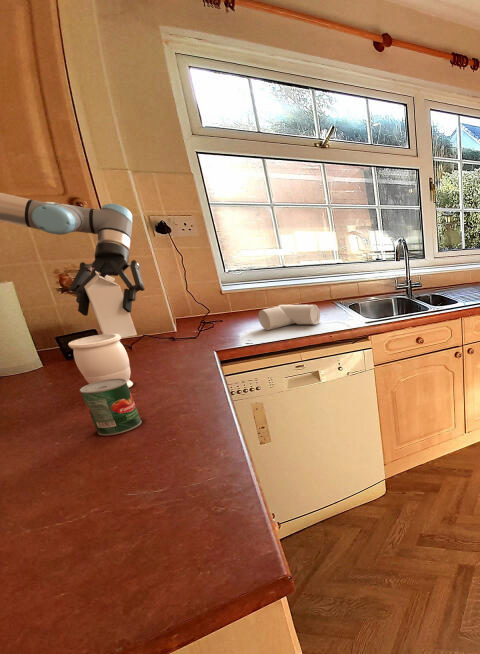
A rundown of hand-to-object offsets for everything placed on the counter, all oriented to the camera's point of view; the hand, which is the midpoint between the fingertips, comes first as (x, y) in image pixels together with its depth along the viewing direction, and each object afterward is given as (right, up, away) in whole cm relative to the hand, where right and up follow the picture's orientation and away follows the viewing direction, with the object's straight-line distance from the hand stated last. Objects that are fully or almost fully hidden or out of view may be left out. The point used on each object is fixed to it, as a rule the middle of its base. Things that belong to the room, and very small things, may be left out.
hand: (105, 311), depth 121 cm
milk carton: (-1, -7, +6) cm, 9 cm away
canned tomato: (+24, -31, -21) cm, 44 cm away
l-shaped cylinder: (+24, +2, +60) cm, 64 cm away
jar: (+3, -22, -1) cm, 23 cm away
